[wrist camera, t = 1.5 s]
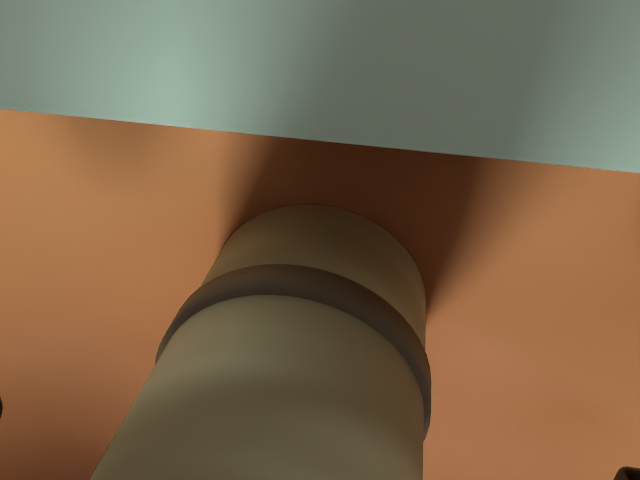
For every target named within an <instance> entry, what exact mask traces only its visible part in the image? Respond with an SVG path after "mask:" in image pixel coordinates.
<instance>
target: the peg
mask: <svg viewBox="0 0 640 480" xmlns="http://www.w3.org/2000/svg"><path fill="white" fill-rule="evenodd" d="M425 330H426V295H425V288H424V284H423V280H422V277H421V274H420V272H419V270H418V267H417V265H416V264H415V262H414V260H413V259H412V257H411V255H410V254H409V253H408V252H407V250H406V249H405V248H404V247H403V245H402V244H401V243H400V242H399V241H398V240H397V239H396V238H394V237H393V236H392V235H391V234H390V233H389V232H387V231H386V230H385V229H383V228H382V227H381V226H379V225H377V224H376V223H374V222H372V221H370V220H369V219H367V218H365V217H362V216H360V215H358V214H355V213H353V212H350V211H346V210H343V209H340V208H336V207H330V206H324V205H310V204H303V205H290V206H285V207H280V208H276V209H273V210H270V211H267V212H264V213H262V214H260V215H258V216H256V217H254V218H252V219H250V220H249V221H247V222H246V223H245V224H243V225H242V226H241V227H240V228H238V229H237V230H236V231H235V232H234V233H233V234H232V235H231V237H230V238H229V239H228V241H227V242H226V243H225V245H224V247H223V248H222V250H221V252H220V254H219V255H218V257H217V259H216V261H215V262H214V264H213V266H212V268H211V269H210V271H209V273H208V274H207V276H206V278H205V280H204V281H203V283H202V285H201V287H200V288H199V289H197V290H196V291H195V292H194V293H193V294H192V295H191V296H190V297H189V298H188V299H187V300H186V302H185V303H184V304H183V305H182V307H181V308H180V310H179V312H178V313H177V315H176V317H175V318H174V320H173V322H172V323H171V325H170V327H169V329H168V330H167V332H166V334H165V336H164V337H163V339H162V341H161V343H160V345H159V349H158V352H157V355H156V361H155V367H154V369H153V370H152V372H151V374H150V375H149V377H148V379H147V381H146V382H145V384H144V386H143V388H142V389H141V391H140V393H139V395H138V396H137V398H136V400H135V402H134V403H133V405H132V407H131V409H130V410H129V412H128V414H127V416H126V417H125V419H124V421H123V423H122V424H121V426H120V428H119V429H118V431H117V433H116V435H115V436H114V438H113V440H112V442H111V443H110V445H109V447H108V449H107V450H106V452H105V454H104V456H103V457H102V459H101V461H100V463H99V464H98V466H97V468H96V470H95V471H94V473H93V475H92V476H91V478H90V480H422V478H423V442H424V440H425V438H426V435H427V432H428V428H429V425H430V415H431V374H430V366H429V362H428V358H427V354H426V352H425Z"/></svg>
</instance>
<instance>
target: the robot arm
mask: <svg viewBox="0 0 640 480" xmlns="http://www.w3.org/2000/svg"><path fill="white" fill-rule="evenodd" d="M2 409H3V405H2V400H1V397H0V418H1V415H2ZM614 480H640V468H633V467H622V468H621V469H619V470H618V472H617V474H616V476H615V478H614Z"/></svg>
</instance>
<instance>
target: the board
mask: <svg viewBox="0 0 640 480" xmlns="http://www.w3.org/2000/svg"><path fill="white" fill-rule="evenodd" d="M0 109H8V110H18V111H28V112H38V113H48V114H58V115H67V116H77V117H87V118H97V119H107V120H117V121H127V122H137V123H147V124H157V125H167V126H177V127H187V128H197V129H207V130H217V131H227V132H237V133H247V134H257V135H267V136H276V137H286V138H296V139H306V140H316V141H326V142H336V143H346V144H356V145H366V146H376V147H386V148H396V149H406V150H416V151H426V152H436V153H446V154H456V155H466V156H476V157H485V158H495V159H505V160H515V161H525V162H535V163H545V164H555V165H565V166H575V167H585V168H595V169H605V170H615V171H625V172H635V173H640V0H0Z"/></svg>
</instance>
